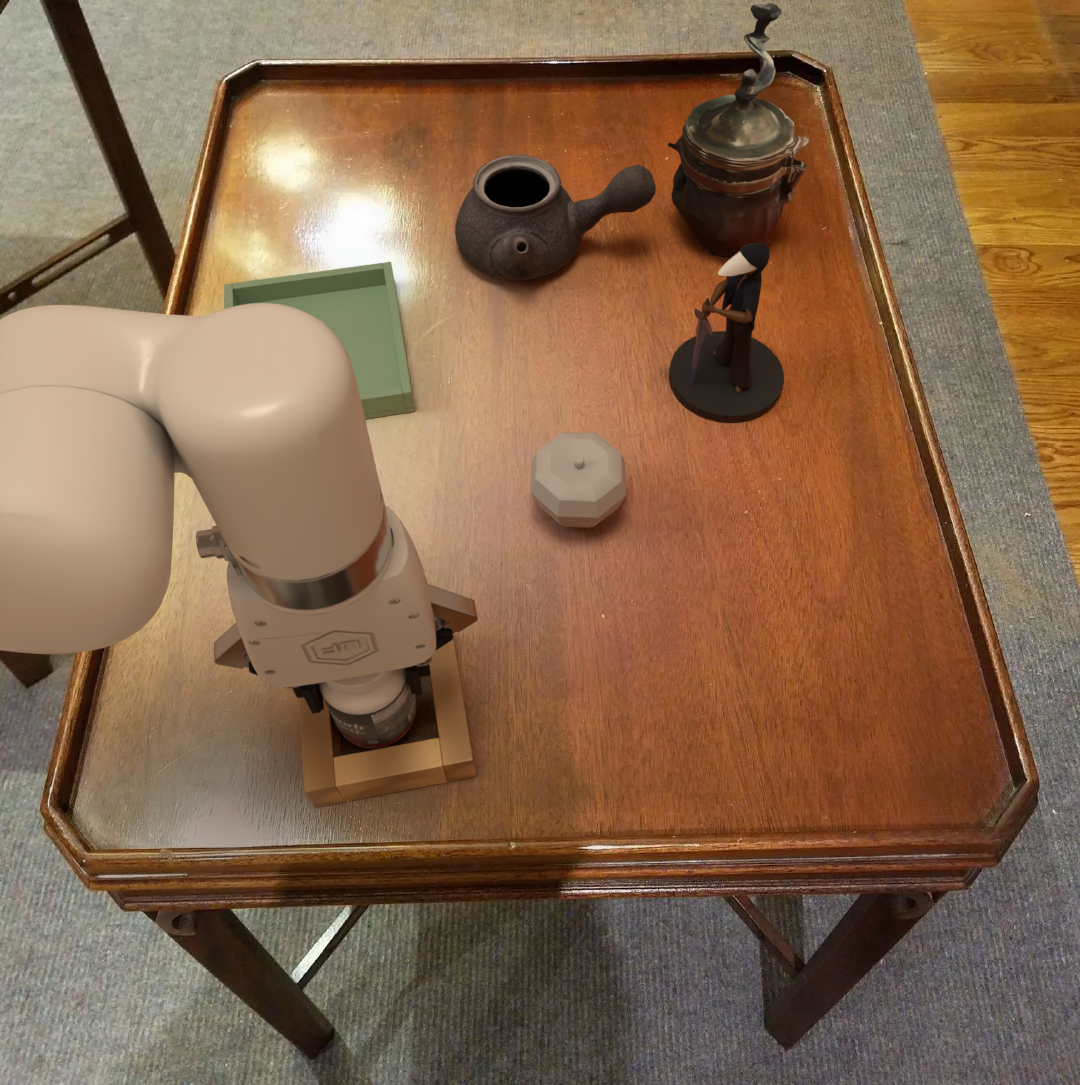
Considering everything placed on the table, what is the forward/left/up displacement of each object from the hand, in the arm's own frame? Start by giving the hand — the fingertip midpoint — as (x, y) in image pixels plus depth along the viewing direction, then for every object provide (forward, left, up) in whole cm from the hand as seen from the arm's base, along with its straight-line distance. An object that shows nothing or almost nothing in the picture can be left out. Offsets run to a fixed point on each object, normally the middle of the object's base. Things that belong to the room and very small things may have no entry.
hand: (366, 682), depth 60 cm
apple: (+18, +15, -7) cm, 24 cm away
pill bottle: (0, 0, -5) cm, 5 cm away
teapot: (+22, +45, -7) cm, 50 cm away
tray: (-2, +36, -6) cm, 37 cm away
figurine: (+34, +26, -7) cm, 43 cm away
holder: (+1, 0, -6) cm, 6 cm away
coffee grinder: (+40, +47, -7) cm, 62 cm away
